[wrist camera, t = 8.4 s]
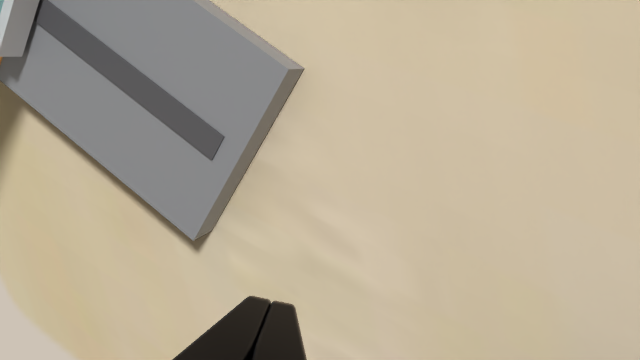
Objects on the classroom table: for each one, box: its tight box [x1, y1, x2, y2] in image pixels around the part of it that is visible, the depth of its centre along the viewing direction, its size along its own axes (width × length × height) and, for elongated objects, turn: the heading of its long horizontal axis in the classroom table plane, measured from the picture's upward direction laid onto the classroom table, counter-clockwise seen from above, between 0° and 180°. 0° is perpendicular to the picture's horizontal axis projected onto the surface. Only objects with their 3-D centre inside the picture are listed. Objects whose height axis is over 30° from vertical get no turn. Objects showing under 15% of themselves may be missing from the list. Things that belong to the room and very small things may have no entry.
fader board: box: [0, 0, 304, 241], centre depth 23 cm, size 16×9×2 cm, turn 58°
